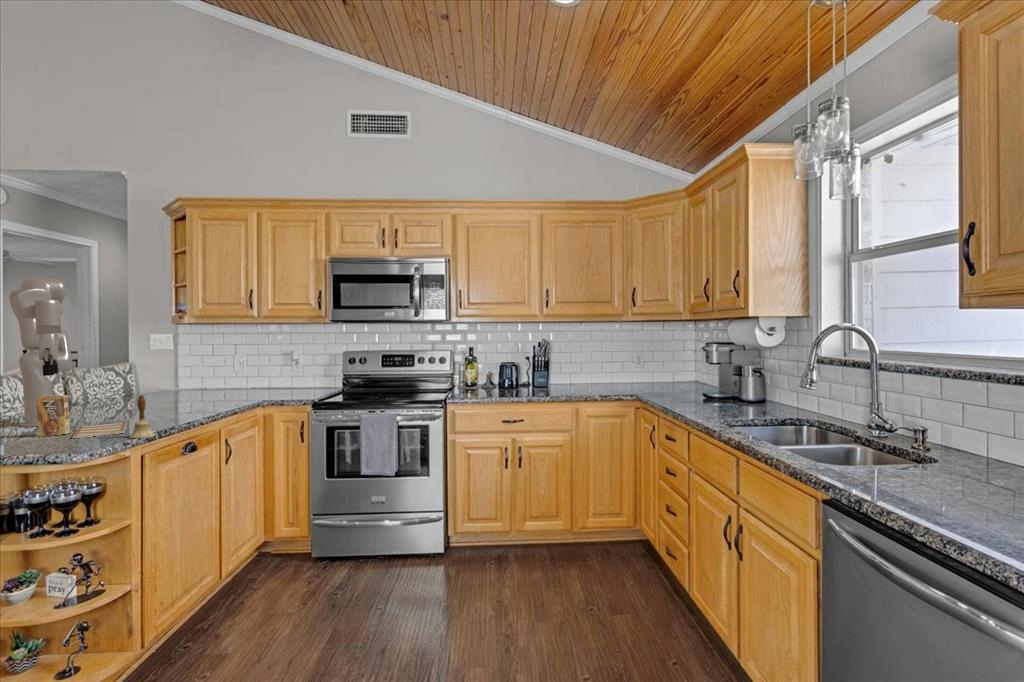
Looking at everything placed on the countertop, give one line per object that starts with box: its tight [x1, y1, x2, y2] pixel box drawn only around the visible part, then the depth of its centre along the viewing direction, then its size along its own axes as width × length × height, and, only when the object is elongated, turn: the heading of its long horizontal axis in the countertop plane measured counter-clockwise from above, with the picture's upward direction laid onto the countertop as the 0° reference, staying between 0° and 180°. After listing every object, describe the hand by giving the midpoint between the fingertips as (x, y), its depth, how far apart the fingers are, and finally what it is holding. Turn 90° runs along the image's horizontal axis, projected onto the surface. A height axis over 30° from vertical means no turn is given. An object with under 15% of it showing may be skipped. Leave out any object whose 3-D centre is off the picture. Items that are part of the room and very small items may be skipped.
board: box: [72, 421, 128, 439], centre depth 219 cm, size 22×16×2 cm
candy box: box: [36, 394, 71, 437], centre depth 213 cm, size 9×4×15 cm, turn 110°
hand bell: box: [129, 394, 156, 439], centre depth 208 cm, size 8×8×16 cm
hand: (50, 374), depth 212 cm, fingers open, 9 cm apart
